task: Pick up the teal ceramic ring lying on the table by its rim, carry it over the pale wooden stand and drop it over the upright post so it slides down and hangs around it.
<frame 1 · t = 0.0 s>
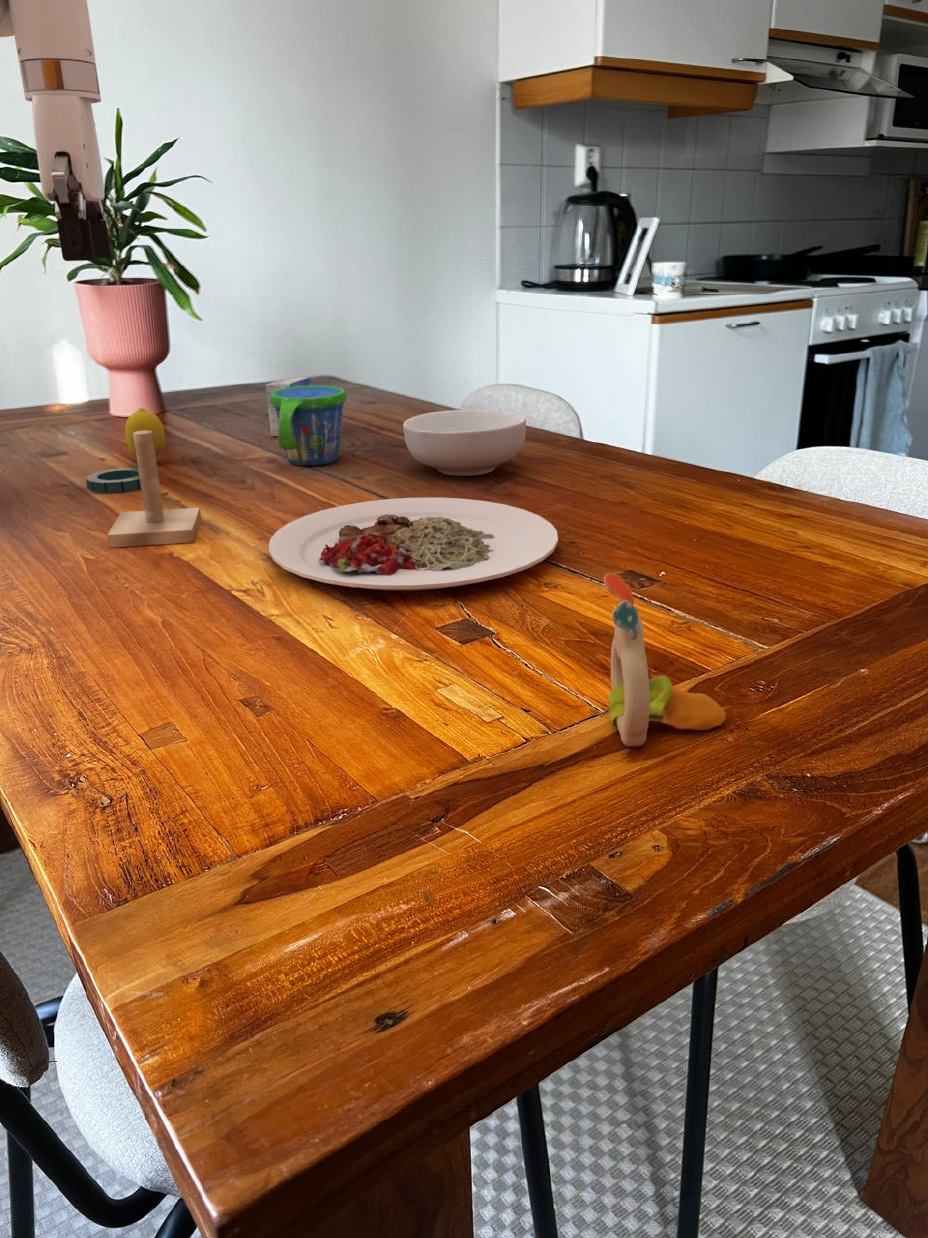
hand: (88, 258, 108), 29 cm above the table, tool pointing down, fingers open, 9 cm apart
lemon: (149, 463, 143), on the table
rattle: (660, 737, 65), on the table
ring: (120, 485, 130), on the table
plated food: (414, 554, 102), on the table
cereal bowl: (465, 470, 135), on the table
medicine box: (293, 434, 161), on the table
snack cup: (313, 462, 141), on the table
stand: (157, 533, 109), on the table
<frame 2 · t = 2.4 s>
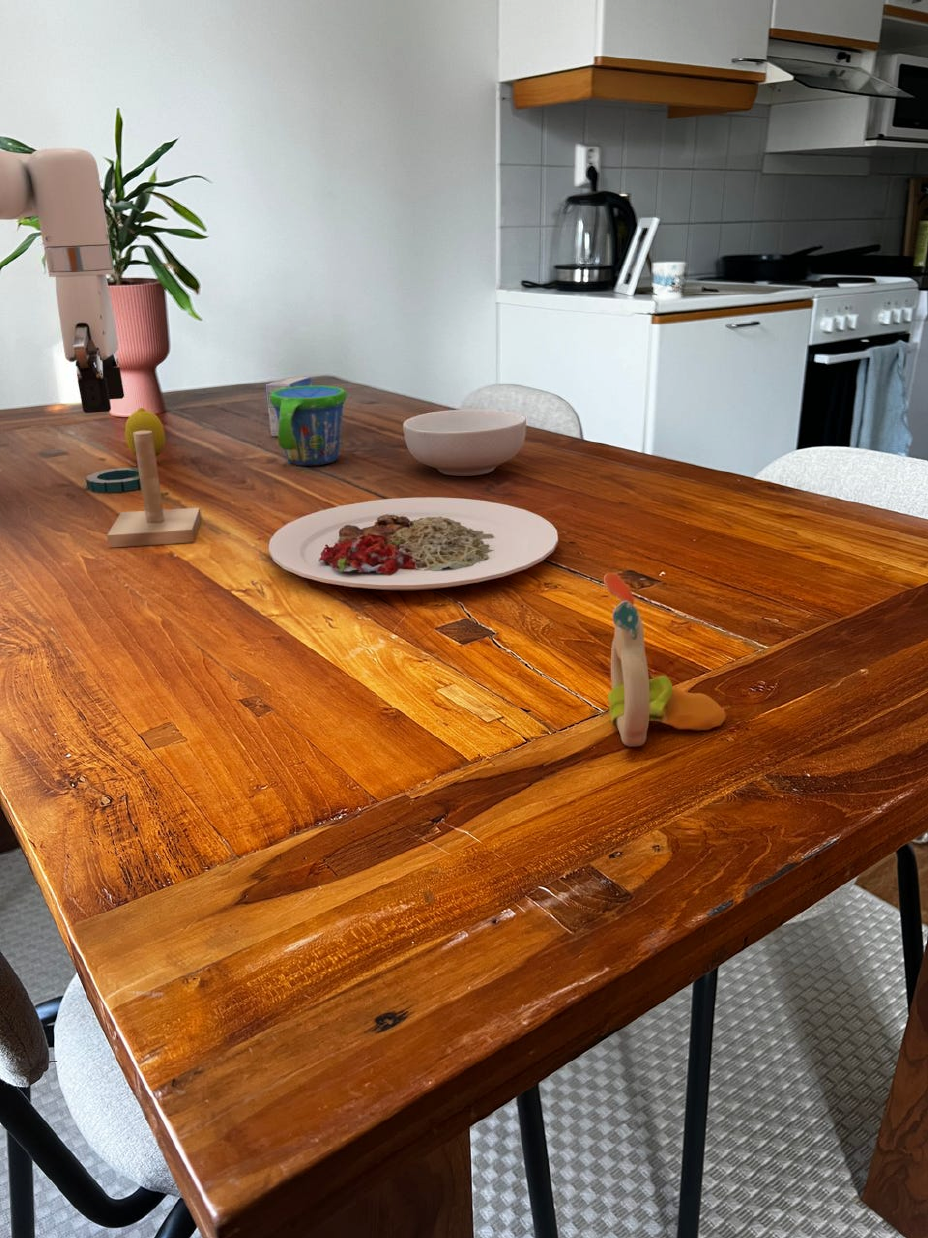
hand: (104, 405, 123), 11 cm above the table, tool pointing down, fingers open, 9 cm apart
nothing on the table moved.
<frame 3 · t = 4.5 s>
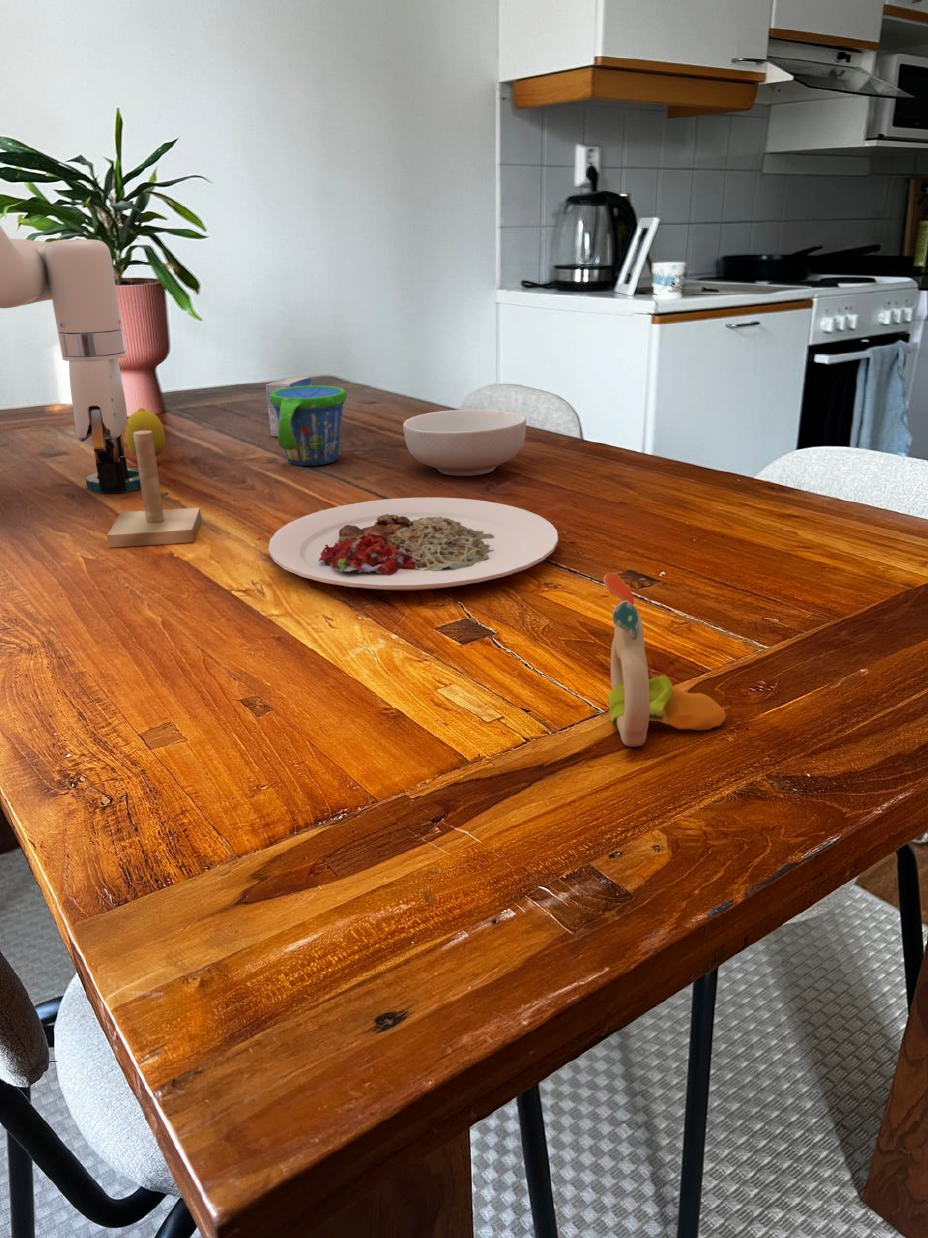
hand: (115, 488, 127), 0 cm above the table, tool pointing down, fingers closed on ring, 1 cm apart
ring: (120, 485, 130), on the table, touching gripper
everything else where it was.
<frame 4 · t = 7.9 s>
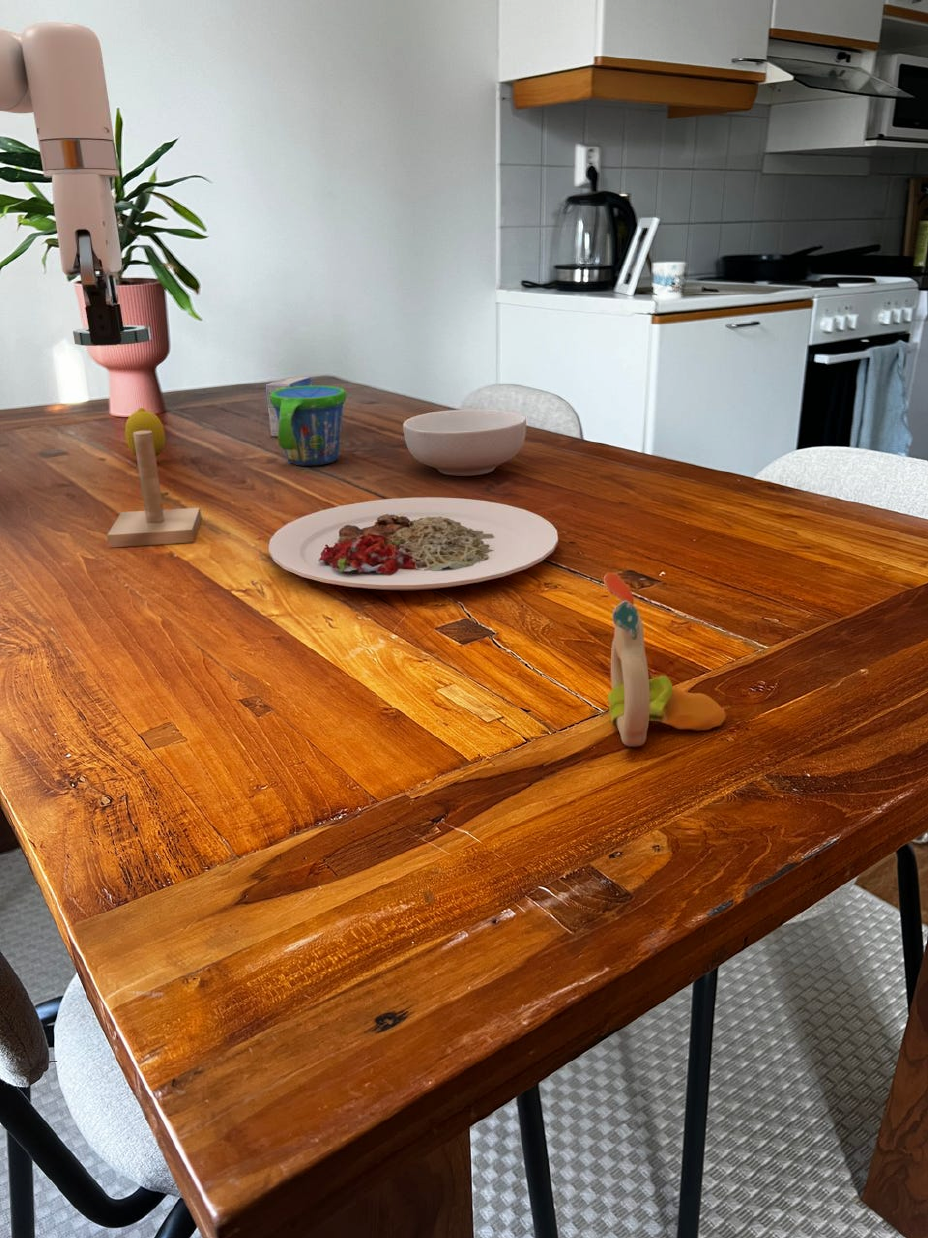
hand: (108, 341, 108), 20 cm above the table, tool pointing down, fingers closed on ring
ring: (113, 341, 111), point 20 cm above the table, touching gripper
everything else where it was.
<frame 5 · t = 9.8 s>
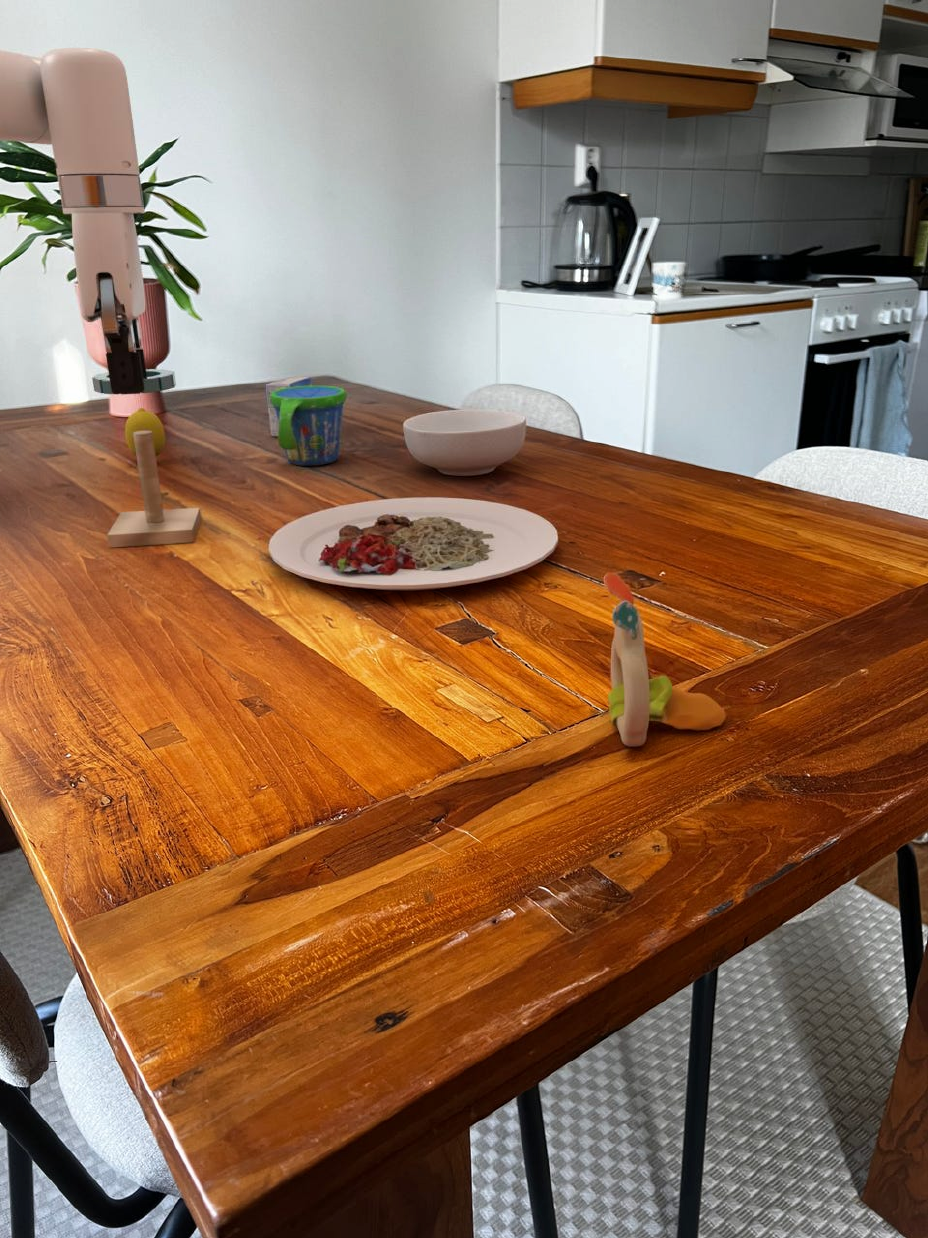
hand: (130, 389, 100), 17 cm above the table, tool pointing down, fingers closed on ring
ring: (135, 387, 103), point 16 cm above the table, touching gripper
everything else where it was.
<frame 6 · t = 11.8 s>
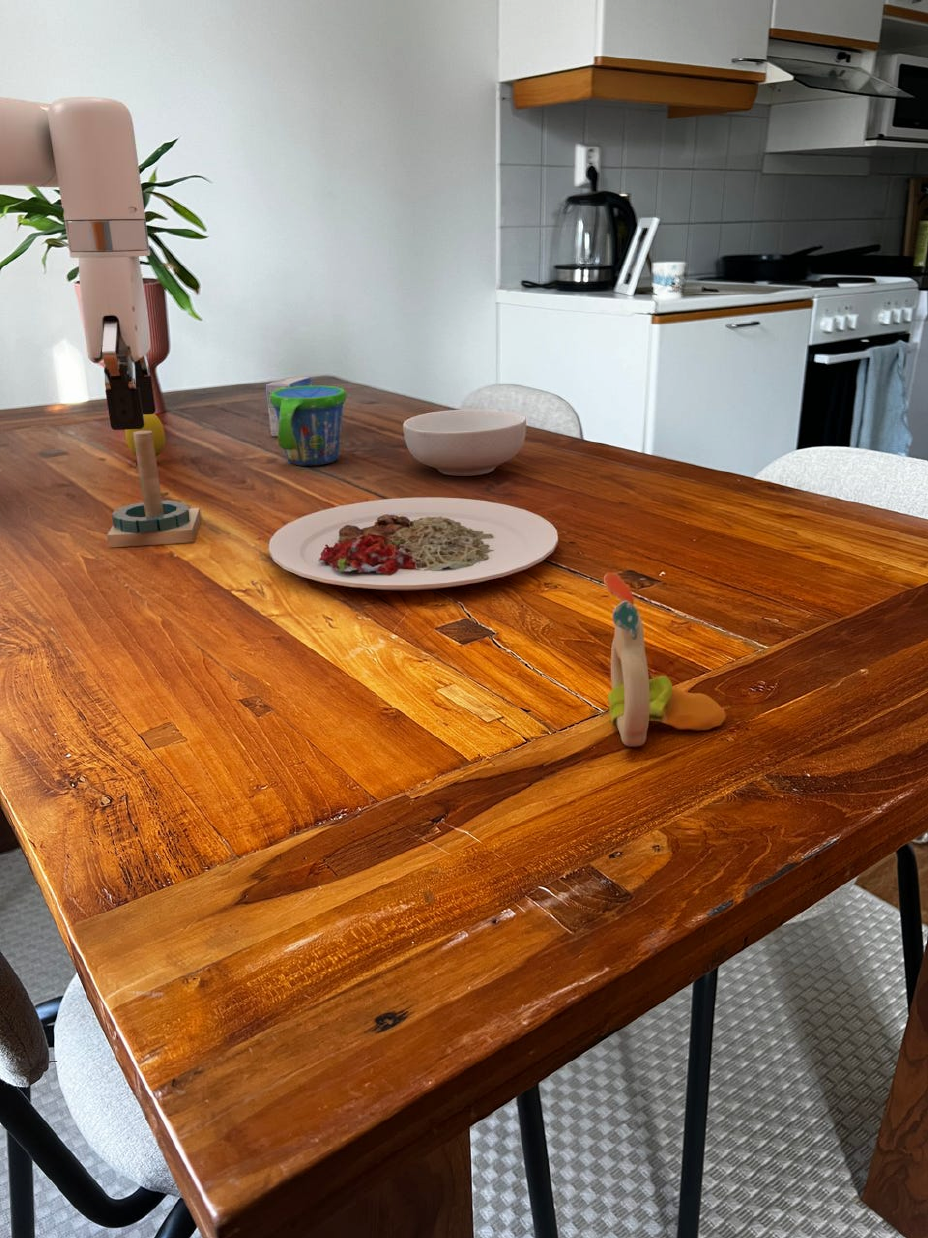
hand: (134, 420, 101), 13 cm above the table, tool pointing down, fingers open, 7 cm apart
ring: (153, 522, 108), point 1 cm above the table, touching stand
everything else where it was.
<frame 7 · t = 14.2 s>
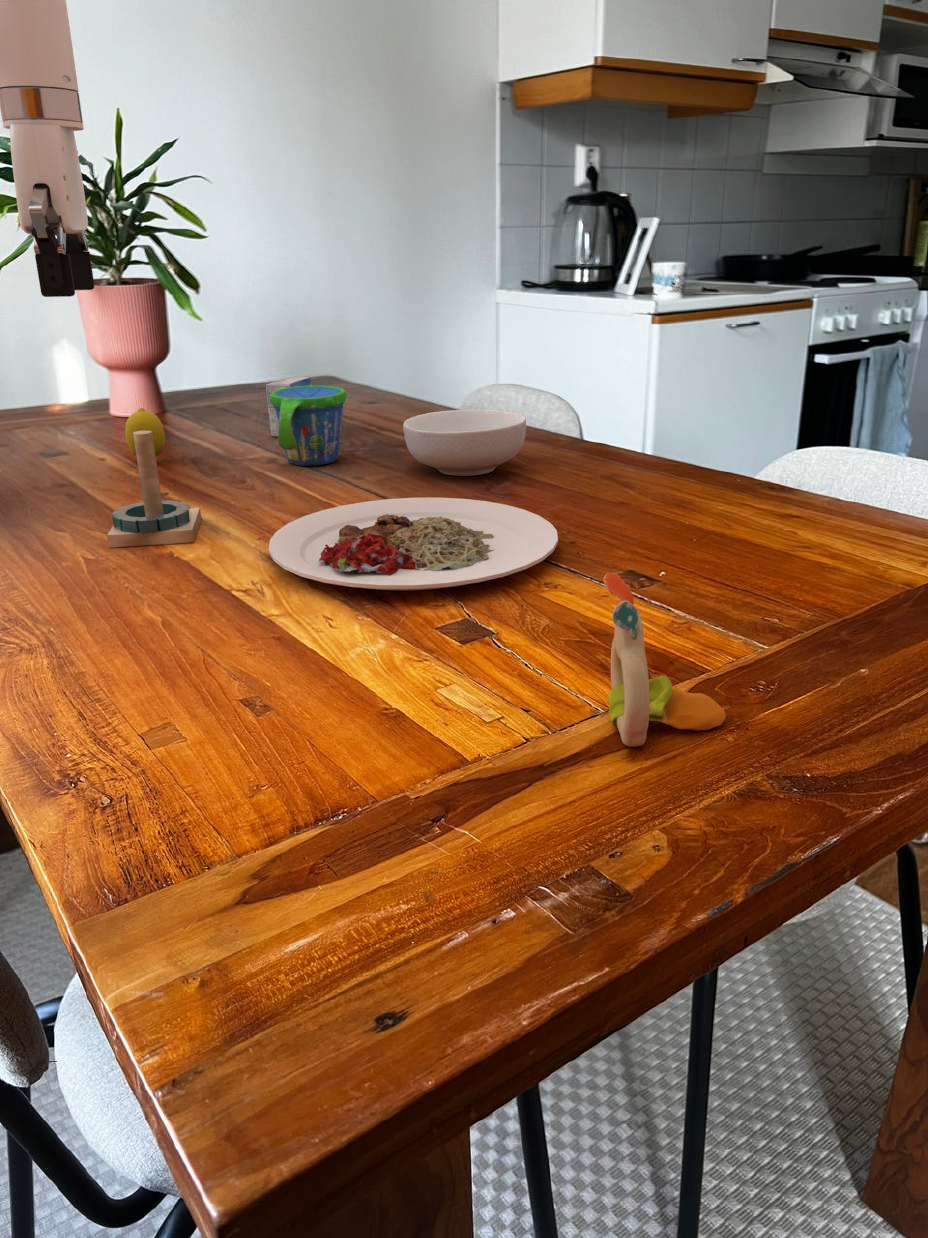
hand: (69, 292, 103), 26 cm above the table, tool pointing down, fingers open, 9 cm apart
nothing on the table moved.
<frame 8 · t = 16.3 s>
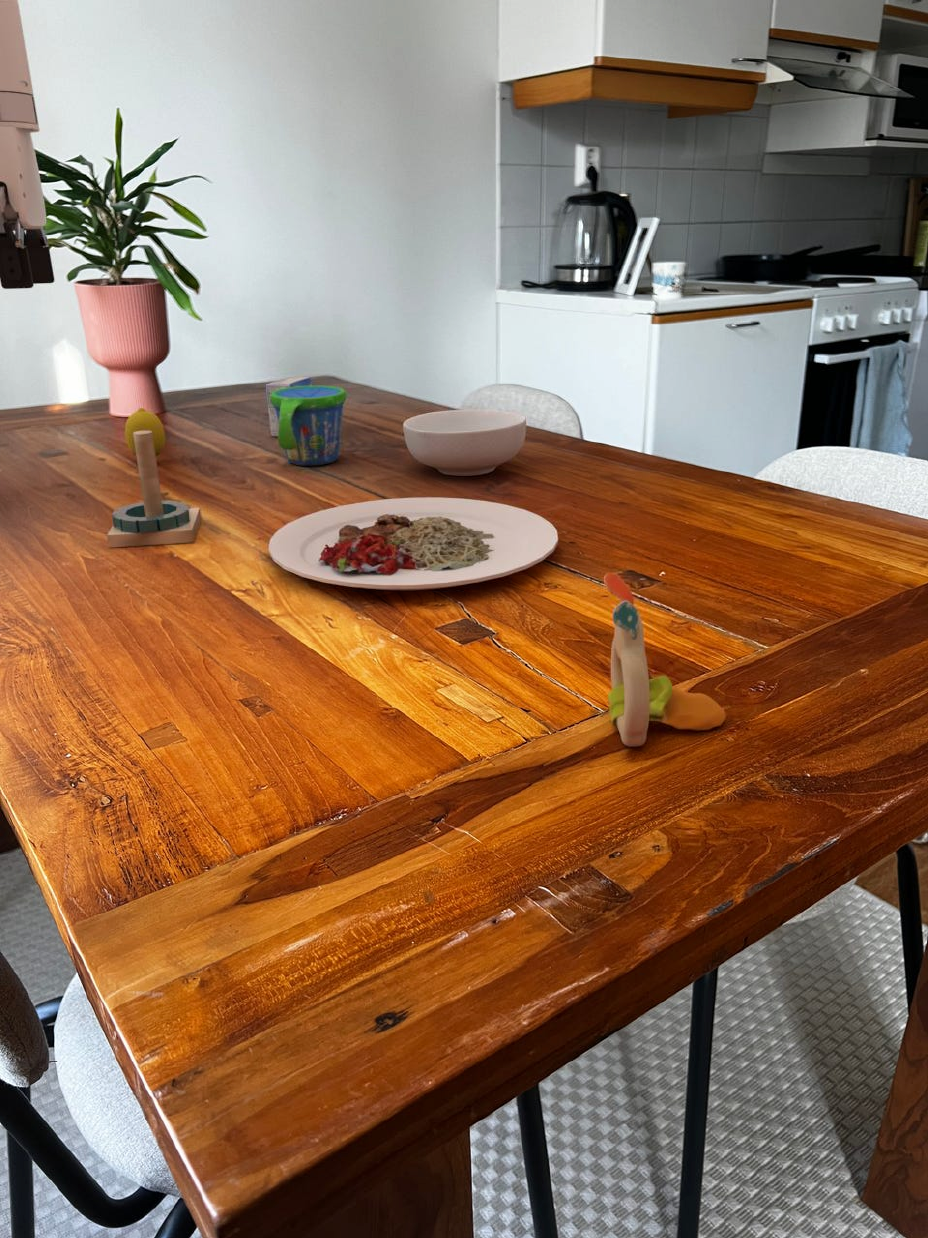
hand: (29, 285, 109), 26 cm above the table, tool pointing down, fingers open, 9 cm apart
nothing on the table moved.
at the end: ring 0.6 cm off-centre on the stand, point 1.5 cm above the stand's base; the gripper is holding nothing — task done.
